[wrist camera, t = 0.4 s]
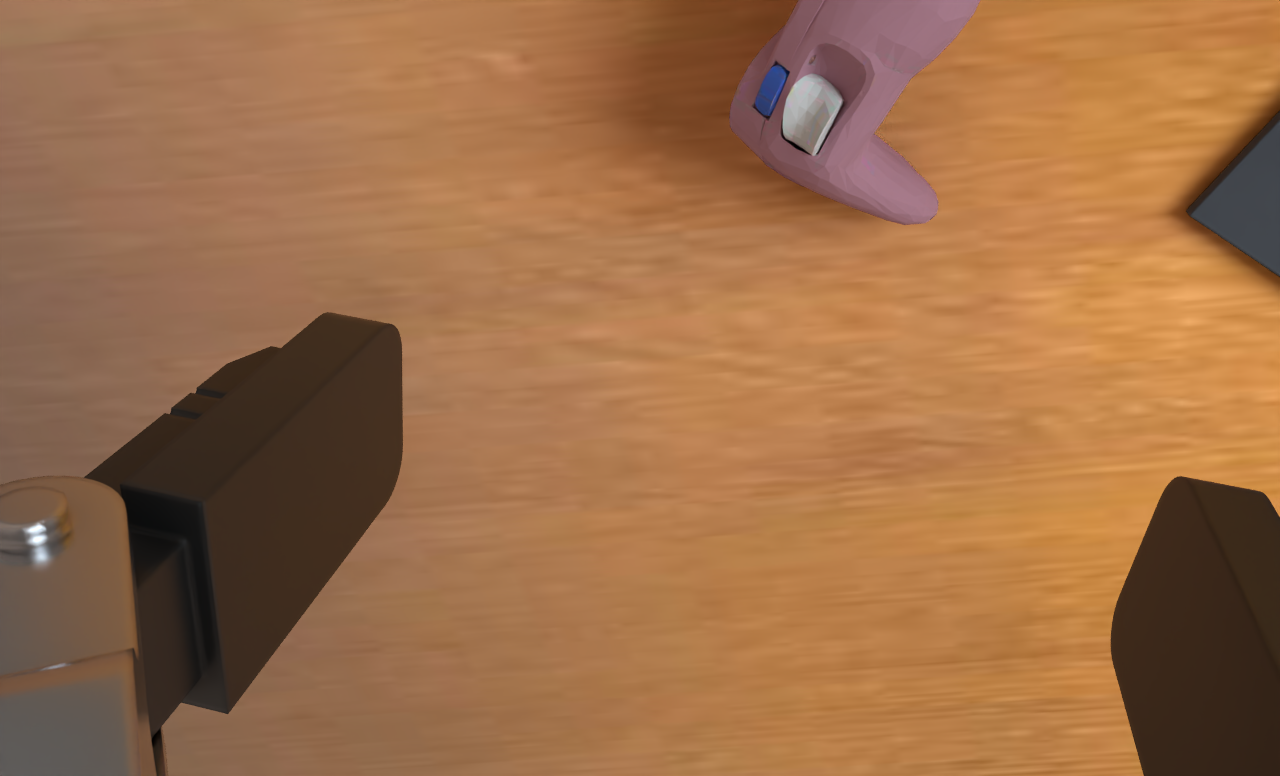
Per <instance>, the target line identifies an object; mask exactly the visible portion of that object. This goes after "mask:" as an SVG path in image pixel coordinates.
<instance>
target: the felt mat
mask: <svg viewBox="0 0 1280 776" xmlns="http://www.w3.org/2000/svg"><path fill="white" fill-rule="evenodd" d="M1186 212H1187V213H1188V214H1189V216H1190V217H1192V218H1193V219H1195V220H1196V221H1198V222H1199V223H1201V224H1202V225H1204V226H1205V227H1207V228H1208V229H1210V230H1211V231H1212V232H1214V233H1215V234H1217V235H1218V236H1220V237H1221V238H1223V239H1224V240H1226V241H1227V242H1229V243H1230V244H1232V245H1233V246H1235V247H1236V248H1238V249H1239V250H1241V251H1242V252H1244V253H1245V254H1247V255H1248V256H1250V257H1251V258H1252V259H1254V260H1255V261H1257V262H1258V263H1260V264H1261V265H1263V266H1264V267H1266V268H1267V269H1269V270H1270V271H1272V272H1273V273H1275V274H1276V275H1278V276H1279V277H1280V111H1279V112H1278V113H1277V114H1276V115H1275V116H1274V117H1273V118H1272V119H1271V121H1270V122H1269V123H1268V124H1267V125H1266V126H1265V127H1264V128H1263V129H1262V130H1261V131H1260V132H1259V133H1258V134H1257V135H1256V137H1255V138H1254V139H1253V140H1252V141H1251V142H1250V143H1249V144H1248V145H1247V146H1246V147H1245V148H1244V149H1243V150H1242V151H1241V153H1240V154H1239V155H1238V156H1237V157H1236V158H1235V159H1234V160H1233V161H1232V162H1231V163H1230V164H1229V165H1228V166H1227V167H1226V169H1225V170H1224V171H1223V172H1222V173H1221V174H1220V175H1219V176H1218V177H1217V178H1216V179H1215V180H1214V181H1213V182H1212V183H1211V185H1210V186H1209V187H1208V188H1207V189H1206V190H1205V191H1204V192H1203V193H1202V194H1201V195H1200V196H1199V197H1198V198H1197V199H1196V201H1195V202H1194V203H1193V204H1192V205H1191V206H1190V207H1189V208H1188V209H1187V210H1186Z"/></svg>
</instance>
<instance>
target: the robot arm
mask: <svg viewBox="0 0 1280 776" xmlns="http://www.w3.org/2000/svg"><path fill="white" fill-rule="evenodd" d="M402 452H403V420H402V344H401V337H400V334H399V331H398V329H397V328H396V327H395V326H394V325H392V324H388V323H383V322H377V321H372V320H367V319H362V318H356V317H351V316H346V315H341V314H335V313H329V312H327V313H323V314H322V315H320V316H319V317H318V318H316V319H315V320H314V321H313V322H312V323H310V324H309V325H308V326H307V327H306V328H304V329H303V330H302V331H301V332H300V333H299V334H297V335H296V336H295V337H294V338H293V339H291V340H290V341H289V342H288V343H287V344H285V345H284V346H283V347H282V348H277V347H272V346H271V347H268V348H266V349H263V350H261V351H258V352H256V353H253V354H251V355H248V356H246V357H243V358H240V359H238V360H235V361H233V362H230V363H228V364H226V365H225V366H224V367H222V368H221V369H220V370H219V371H217V372H216V373H215V374H214V375H212V376H211V377H210V378H209V379H207V380H206V381H205V382H204V383H202V384H201V385H200V386H199V387H197V391H196V393H195V394H194V393H190V394H188V395H187V396H186V397H185V398H183V399H182V400H181V401H180V402H178V403H177V404H176V405H175V406H173V407H172V408H171V413H170V414H166V413H165V414H163V415H162V416H161V417H160V418H158V419H157V420H156V421H154V422H153V423H152V424H151V425H149V426H148V427H147V428H146V429H144V430H143V431H142V432H141V433H139V434H138V435H137V436H136V437H134V438H133V439H132V440H131V441H129V442H128V443H127V444H126V445H124V446H123V447H122V448H121V449H119V450H118V451H117V452H115V453H114V454H113V455H112V456H110V457H109V458H108V459H107V460H105V461H104V462H103V463H102V464H100V465H99V466H98V467H97V468H95V469H94V470H93V471H92V472H90V473H89V474H88V475H87V476H85V477H84V478H81V477H74V476H43V477H33V478H27V479H22V480H16V481H12V482H9V483H5V484H1V485H0V776H168V767H167V758H166V748H165V741H164V735H163V729H162V725H163V724H164V723H165V721H166V720H167V719H168V718H169V716H170V715H171V714H172V713H173V712H174V710H175V709H176V708H177V707H178V705H179V704H180V703H186V704H190V705H194V706H198V707H202V708H206V709H210V710H214V711H218V712H222V713H226V714H228V713H229V712H230V711H231V709H232V708H233V707H234V705H235V704H236V703H237V701H238V700H239V699H240V697H241V696H242V695H243V693H244V692H245V691H246V689H247V688H248V687H249V685H250V684H251V683H252V681H253V680H254V679H255V677H256V676H257V675H258V673H259V672H260V671H261V669H262V668H263V667H264V665H265V664H266V663H267V662H268V660H269V659H270V658H271V656H272V655H273V654H274V652H275V651H276V650H277V648H278V647H279V646H280V644H281V643H282V642H283V640H284V639H285V638H286V636H287V635H288V634H289V632H290V631H291V630H292V628H293V627H294V626H295V624H296V623H297V622H298V620H299V619H300V618H301V616H302V615H303V614H304V612H305V611H306V610H307V608H308V607H309V606H310V604H311V603H312V602H313V600H314V599H315V598H316V596H317V595H318V594H319V592H320V591H321V590H322V588H323V587H324V586H325V585H326V583H327V582H328V581H329V579H330V578H331V577H332V575H333V574H334V573H335V571H336V570H337V569H338V567H339V566H340V565H341V563H342V562H343V561H344V559H345V558H346V557H347V555H348V554H349V553H350V551H351V550H352V549H353V547H354V546H355V545H356V543H357V542H358V541H359V539H360V538H361V537H362V535H363V534H364V533H365V531H366V530H367V529H368V527H369V526H370V525H371V523H372V522H373V521H374V519H375V518H376V517H377V515H378V514H379V513H380V512H381V510H382V509H383V508H384V506H385V505H386V503H387V502H388V500H389V498H390V496H391V494H392V492H393V490H394V487H395V485H396V482H397V478H398V475H399V471H400V467H401V461H402ZM1111 654H1112V661H1113V665H1114V669H1115V672H1116V676H1117V680H1118V683H1119V687H1120V690H1121V694H1122V698H1123V701H1124V705H1125V709H1126V712H1127V716H1128V720H1129V723H1130V727H1131V730H1132V734H1133V738H1134V741H1135V745H1136V749H1137V752H1138V756H1139V760H1140V763H1141V767H1142V770H1143V774H1144V776H1280V517H1279V516H1278V514H1277V512H1276V510H1275V509H1274V507H1273V505H1272V503H1271V502H1270V500H1269V499H1268V497H1267V496H1266V495H1265V494H1264V493H1262V492H1260V491H1256V490H1250V489H1245V488H1240V487H1235V486H1229V485H1224V484H1219V483H1214V482H1208V481H1203V480H1198V479H1193V478H1187V477H1182V476H1180V477H1176V478H1174V479H1173V480H1172V481H1171V482H1170V483H1169V484H1168V485H1167V487H1166V488H1165V490H1164V492H1163V493H1162V495H1161V498H1160V500H1159V502H1158V504H1157V507H1156V509H1155V512H1154V514H1153V516H1152V519H1151V521H1150V524H1149V526H1148V528H1147V531H1146V533H1145V536H1144V538H1143V540H1142V543H1141V545H1140V548H1139V550H1138V552H1137V555H1136V557H1135V560H1134V562H1133V564H1132V567H1131V569H1130V571H1129V574H1128V576H1127V579H1126V581H1125V583H1124V586H1123V588H1122V591H1121V593H1120V595H1119V598H1118V601H1117V604H1116V608H1115V611H1114V616H1113V622H1112V630H1111Z"/></svg>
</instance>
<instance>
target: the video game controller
mask: <svg viewBox="0 0 1280 776" xmlns="http://www.w3.org/2000/svg"><path fill="white" fill-rule="evenodd" d="M979 2H980V0H798V2H797V4H796V6H795V8H794V10H793V12H792V14H791V15H790V17H789V19H788V21H787V23H786V25H785V26H784V27H782V28H781V29H780V30H779V31H778V32H777V33H776V34H775V35H774V36H773V37H772V38H771V39H770V41H769V42H768V43H767V44H766V45H765V46H764V47H763V48H762V49H761V50H760V52H759V53H758V54H757V56H756V57H755V58H754V60H753V61H752V62H751V64H750V65H749V66H748V68H747V70H746V72H745V74H744V75H743V77H742V79H741V81H740V83H739V85H738V87H737V90H736V93H735V95H734V98H733V101H732V104H731V109H730V117H729V119H730V127H731V129H732V131H733V132H734V133H735V134H736V135H737V136H738V137H739V138H740V139H741V140H742V141H743V142H744V143H745V144H746V145H747V146H748V147H749V148H750V149H751V150H752V151H753V152H754V153H755V154H756V155H757V156H758V157H759V158H760V159H761V160H762V161H763V162H764V163H765V164H766V165H767V166H768V167H770V168H771V169H773V170H774V171H776V172H777V173H779V174H780V175H782V176H783V177H785V178H787V179H789V180H791V181H793V182H795V183H797V184H799V185H801V186H803V187H806V188H808V189H810V190H812V191H814V192H816V193H818V194H820V195H823V196H825V197H828V198H830V199H832V200H835V201H837V202H840V203H842V204H845V205H847V206H850V207H852V208H855V209H858V210H860V211H863V212H866V213H868V214H871V215H874V216H877V217H879V218H882V219H885V220H888V221H892V222H895V223H899V224H903V225H909V224H921V223H926V222H928V221H929V220H931V219H932V218H933V217H934V216H935V215H936V214H937V210H938V200H937V196H936V193H935V191H934V190H933V189H932V187H931V186H930V185H929V184H928V183H927V181H926V180H925V179H924V178H923V177H922V176H921V175H919V174H918V173H917V172H916V171H915V169H914V168H913V167H912V166H911V165H910V164H909V163H908V162H907V161H906V160H905V159H904V158H903V157H902V156H901V155H900V154H899V153H897V152H896V151H895V150H894V149H892V148H891V147H890V146H889V145H887V144H886V143H885V142H884V141H883V140H881V139H880V138H879V137H878V136H876V135H875V134H874V132H875V131H876V130H877V128H878V127H879V126H880V124H881V123H882V121H883V120H884V118H885V117H886V115H887V114H888V112H889V111H890V109H891V108H892V106H893V105H894V103H895V102H896V100H897V99H898V97H899V96H900V94H901V93H902V91H903V90H904V88H905V87H906V85H907V84H908V82H909V81H910V79H911V78H912V77H913V76H915V75H916V74H917V73H918V72H920V71H921V70H922V69H923V68H924V67H926V66H927V65H928V64H929V63H930V62H932V61H933V60H934V59H935V58H936V57H937V56H938V55H939V54H940V53H941V52H942V51H943V50H944V49H945V48H946V47H947V46H948V45H949V44H950V43H951V42H952V41H953V40H954V39H955V38H956V36H957V35H958V34H959V32H960V31H961V30H962V29H963V27H964V26H965V25H966V23H967V22H968V21H969V19H970V18H971V17H972V15H973V14H974V12H975V10H976V8H977V6H978V4H979Z"/></svg>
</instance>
